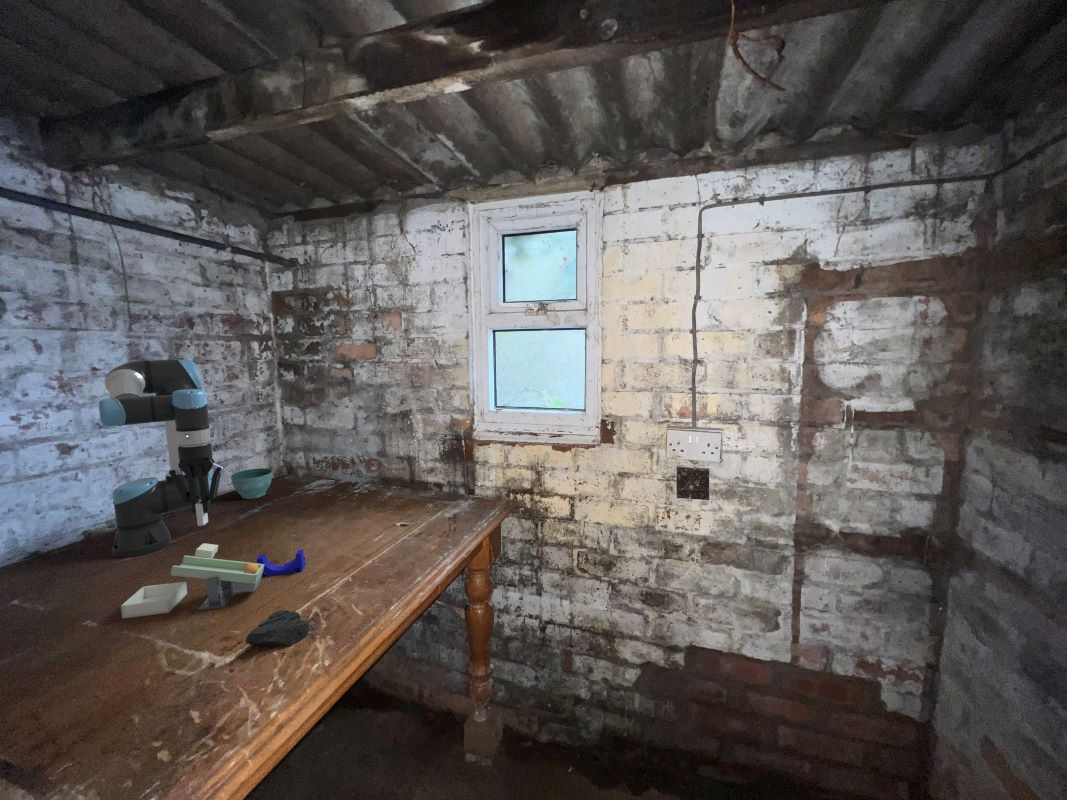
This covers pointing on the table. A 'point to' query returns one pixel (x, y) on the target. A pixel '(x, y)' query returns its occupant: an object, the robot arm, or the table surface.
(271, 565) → the cable clip
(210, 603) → the pivot stand
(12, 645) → the table surface
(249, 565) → the ball
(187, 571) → the lever
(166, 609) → the open white tray
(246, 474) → the flower pot
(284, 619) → the rock
